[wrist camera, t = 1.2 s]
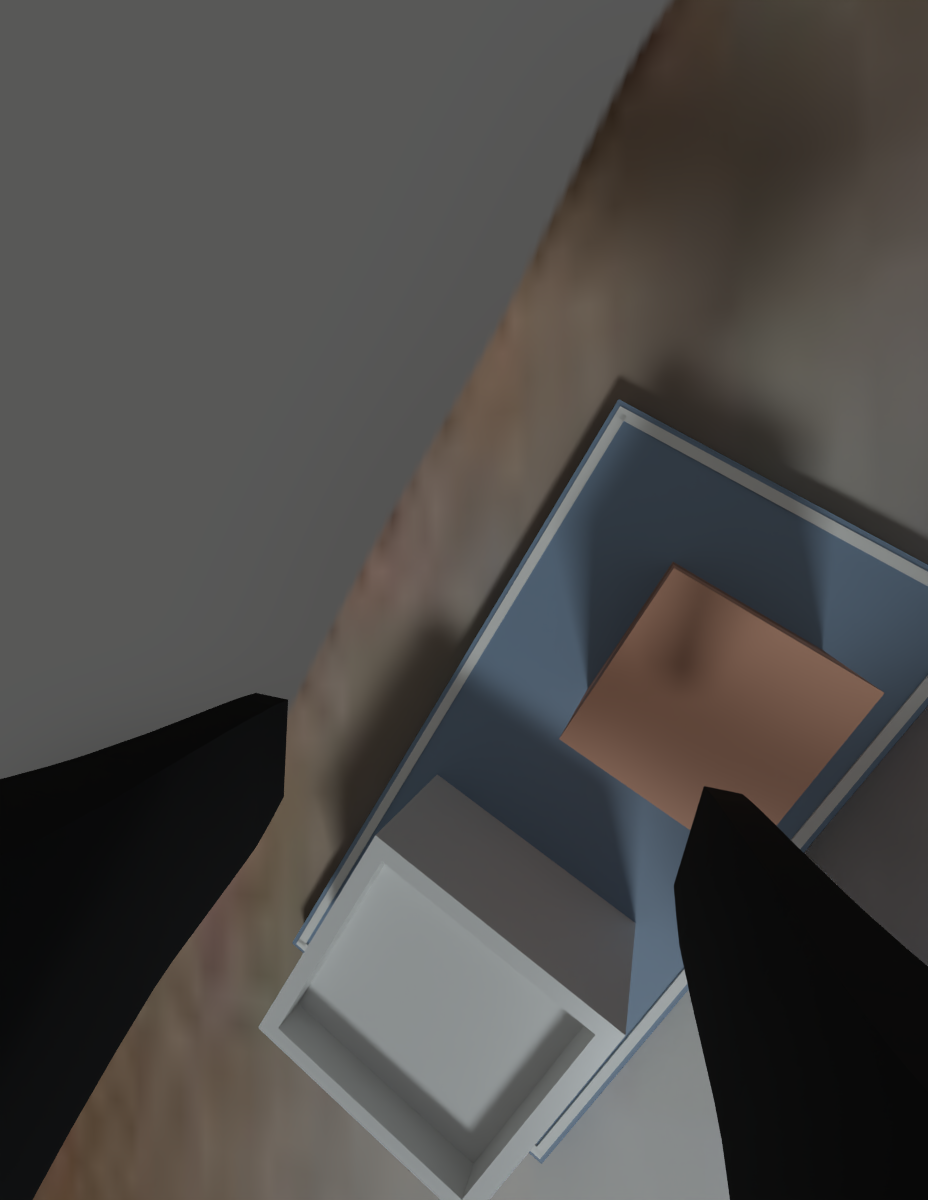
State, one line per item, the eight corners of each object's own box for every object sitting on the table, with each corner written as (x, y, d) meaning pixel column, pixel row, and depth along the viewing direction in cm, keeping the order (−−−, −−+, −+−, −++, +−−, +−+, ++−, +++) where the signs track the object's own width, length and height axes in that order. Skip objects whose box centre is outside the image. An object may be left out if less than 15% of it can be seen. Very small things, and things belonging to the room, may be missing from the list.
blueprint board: (620, 405, 18) (618, 398, 17) (993, 605, 16) (1010, 609, 15) (304, 930, 24) (291, 944, 23) (546, 1141, 21) (541, 1165, 20)
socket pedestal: (437, 774, 20) (375, 835, 16) (635, 923, 19) (625, 1035, 14) (337, 934, 22) (258, 1027, 18) (510, 1083, 20) (468, 1225, 16)
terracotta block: (673, 561, 17) (673, 568, 13) (822, 650, 16) (884, 692, 12) (587, 689, 18) (559, 738, 14) (723, 779, 17) (742, 866, 13)
